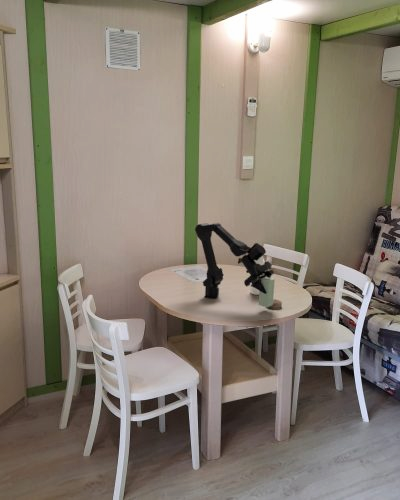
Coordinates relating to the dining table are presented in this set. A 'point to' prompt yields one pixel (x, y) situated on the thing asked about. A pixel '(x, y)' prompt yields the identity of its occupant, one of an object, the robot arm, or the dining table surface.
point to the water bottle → (252, 289)
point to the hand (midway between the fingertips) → (269, 292)
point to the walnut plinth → (276, 304)
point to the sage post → (267, 298)
